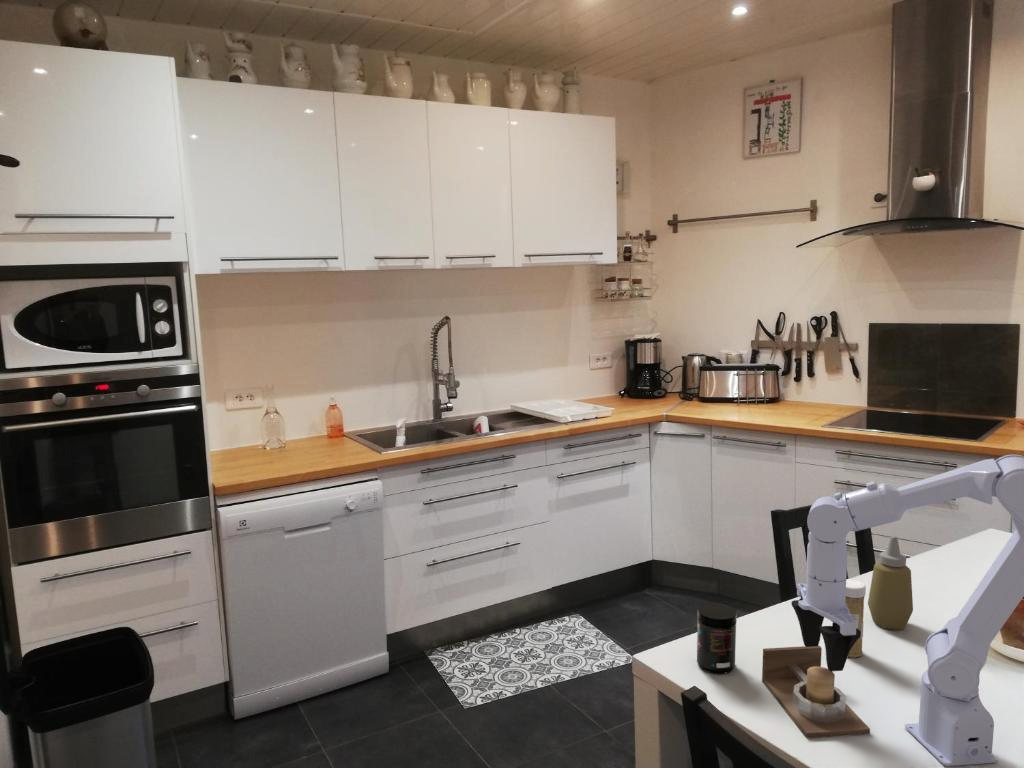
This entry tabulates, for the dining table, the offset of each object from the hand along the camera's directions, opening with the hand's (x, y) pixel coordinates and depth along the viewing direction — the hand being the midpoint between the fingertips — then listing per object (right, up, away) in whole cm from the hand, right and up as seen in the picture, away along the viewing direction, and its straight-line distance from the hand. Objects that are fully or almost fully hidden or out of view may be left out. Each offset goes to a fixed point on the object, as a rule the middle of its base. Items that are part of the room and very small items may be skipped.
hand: (822, 657), depth 115 cm
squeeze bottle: (+26, -5, +31) cm, 41 cm away
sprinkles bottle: (+13, -7, +20) cm, 25 cm away
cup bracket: (0, -9, +3) cm, 10 cm away
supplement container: (-12, -8, +16) cm, 22 cm away
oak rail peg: (0, -9, +1) cm, 9 cm away
